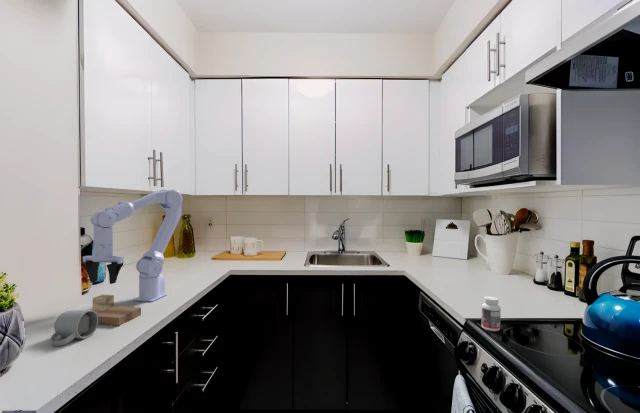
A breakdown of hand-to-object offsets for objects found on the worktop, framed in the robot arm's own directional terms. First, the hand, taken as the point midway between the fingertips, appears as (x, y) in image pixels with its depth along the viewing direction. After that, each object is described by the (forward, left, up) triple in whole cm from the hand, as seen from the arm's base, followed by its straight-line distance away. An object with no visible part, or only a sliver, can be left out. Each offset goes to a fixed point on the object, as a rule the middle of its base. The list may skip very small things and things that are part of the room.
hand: (103, 282), depth 119 cm
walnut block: (+8, +12, -10) cm, 17 cm away
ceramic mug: (+23, +11, -10) cm, 27 cm away
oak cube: (0, 0, -10) cm, 10 cm away
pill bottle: (-8, +132, -10) cm, 133 cm away
